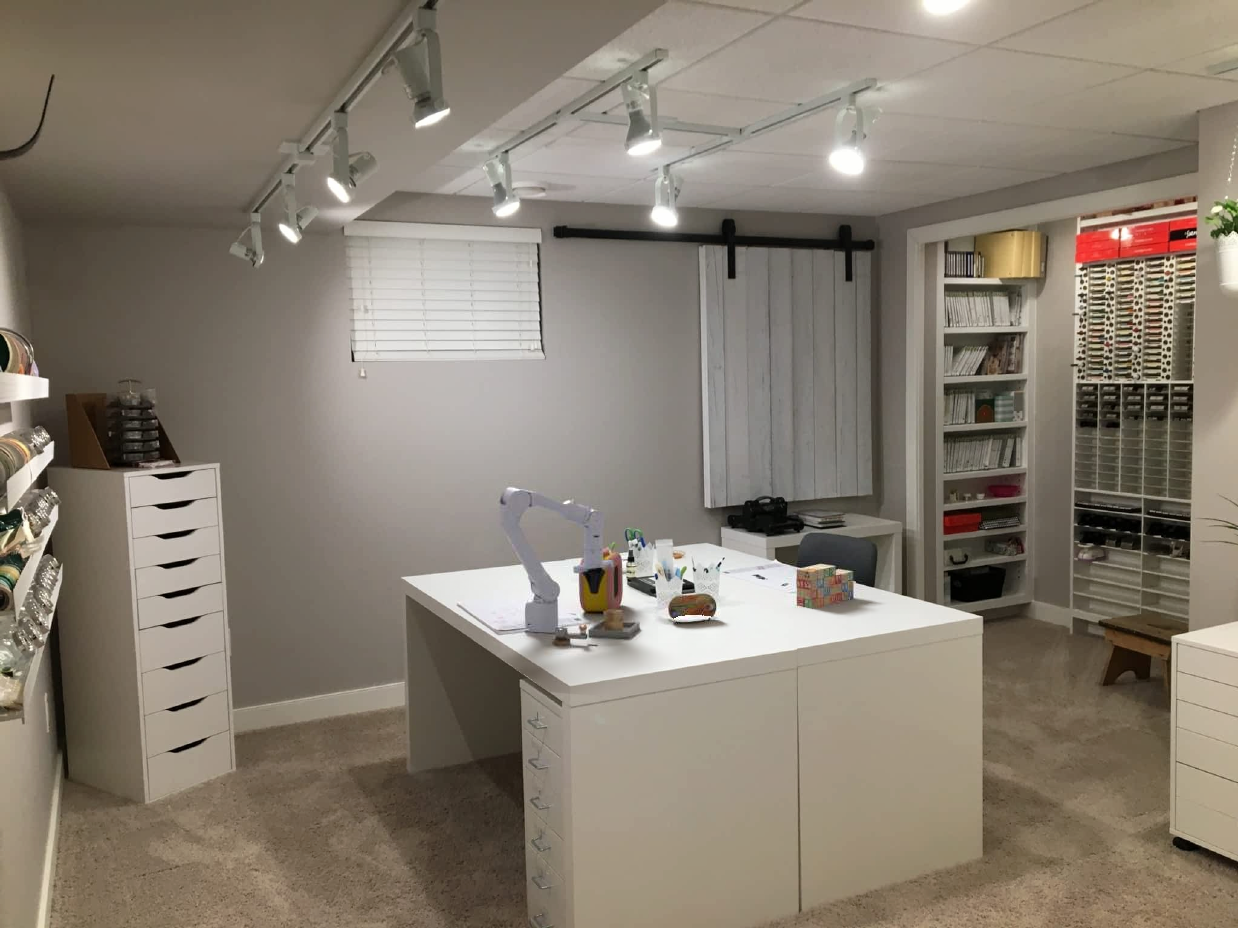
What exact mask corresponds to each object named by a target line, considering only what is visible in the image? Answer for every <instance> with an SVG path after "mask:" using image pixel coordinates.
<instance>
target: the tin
mask: <svg viewBox="0 0 1238 928" xmlns="http://www.w3.org/2000/svg"><path fill="white" fill-rule="evenodd" d="M667 609H668V610H667V611H668V614H669V617H670V618H671V619H672V618H673V619H674V618H676V617H678V616H685V615H702V616H703V615H704V616H711V617H712V618H713V617H714V616H715V614H716V611H717V602H716V600H715V598H714V596H712V595H710V594H708V593H693V594H682V595H676V596H675V597H673V598H671V600H670V601H669V603H668V607H667ZM673 619H672V620H673Z"/></svg>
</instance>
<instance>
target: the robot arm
mask: <svg viewBox="0 0 1238 928" xmlns="http://www.w3.org/2000/svg"><path fill="white" fill-rule="evenodd" d="M498 504H499V524H500V527H501V529H502V531H503V533H504V534H505V537H506V539H507V540H508V542H509V544H510V545H511V547H512V549H513V551H514V552H515V554H516V555H517V557H518V559H519V561H520V562H521V564H522V567H523V568H524V570H525V572H526V574H527V579H528V581H529V582H530V583H529V584H530V590H531V592H532V593H533V598H532V599H528V600H527V601H526V603H525V608H524V625H525V626H524V627H525V628H527V629H529V630H526V631H525V632H528V633H529V632H530V633H531V632H532V633H545V634H546V633H549V634H555V628H560V627H564V625H562V624H559V607H558V606H559V605H558V597H559V596H560V592H561V587H560V585H559V584H558V582H557V581H555V580H554V579H552V577H551V576H550V574H549V573H548V572H547V570H545V568H544V566H543V565H542V563H541V561H540V559H539V557H538V555H537V554H536V552H535V550H534V548H533V546H532V544H530V541H529V539H528V538H527V536H526V534H525V532H524V531H523V528H522V526H521V525H520V521H521V519H522V516H523V515H524V513H525V512H526V511H527V510H528V508H534V507H537V506H539V507H543V508H545V509H547V510H551V511H553V512H556V513H559V515H560V517H561V518H562V519H563V520H566V521H568V522H571V523H575V524H577V525H580V526H582V527H583V557H584V563H583V564H577V565H573V570H572V571H573V574H579V573H580V572H583V575H584V576H585V578H586V580H587V583H588V585H589V589H590V593H591V594H598V591H599V587H600V583H601V580H602V578H603V576H604V574H605V570H602V568H607V567H613V561H612V560H605V561H603V548H604V547H603V546H604V545H603V544H604V542H603V541H604V540H603V538H604V537H603V527H604V526H605V524H606V519H605V516H604V514H603V513H602V512H601V511H599V510H596V509H593V508H592V507H591V506H590V505H586V506H585V505H582V504H580V503H578V501H576V500H574V499H571V500H566V501H564V502H561V501H559V500H557V499H554V498H552V497H549V496H546V495H544V494H542V493H540V492H535V491H532V490H527V489H523V488H520V489H519V488H517V487H514V486H509V487H506V488H505V489H504V490H503V491H502V493H501V495H500V498H499V500H498ZM529 625H530V626H529ZM559 625H561V626H559ZM525 628H524V629H525Z"/></svg>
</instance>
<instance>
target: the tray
mask: <svg viewBox="0 0 1238 928" xmlns="http://www.w3.org/2000/svg"><path fill="white" fill-rule="evenodd" d="M640 625H641V624H640V622H639V621H624V620H623V631H612V630H604V619H602V620H599V621H598V622H597V623H596V624H594V625H593V626H592V627H590V628H588V629H587V630H588V633H587V634H588V637H589V638H603V639H605V638H606V639H607V638H608V639H619V640H621V639H623V640H629V639H630V638H631V637H632V636H633V635H635V634H636V633H637V632H638V631H639V630H640V629H641V627H640Z"/></svg>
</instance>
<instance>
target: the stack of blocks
mask: <svg viewBox="0 0 1238 928" xmlns="http://www.w3.org/2000/svg"><path fill="white" fill-rule="evenodd" d="M836 568H837V567H836V565H831V564H823V563H818V564H815V565H814V564H813V565H810V566H805V567H801V568H796V578H795V579H796V606H797V607H803V608H807V609H815V607H816V608H820V607H824V605H825V606H828V605H827V604H829V605H832V604H835V603H838V602H837V601H841V602H843V601H842V600H845V601H848V600H847V599H849V598H853V599H854V597H855V596H854V590H855V589H854V588H855V587H854V584H855V583H854V571H852V570H848V569H841V568H838V569H836ZM849 600H850V599H849ZM831 603H832V604H831Z"/></svg>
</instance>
